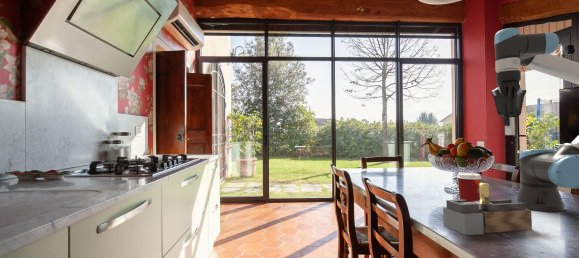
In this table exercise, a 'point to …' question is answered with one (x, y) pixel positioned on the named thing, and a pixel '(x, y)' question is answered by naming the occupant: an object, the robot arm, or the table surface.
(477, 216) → the bracket
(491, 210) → the door
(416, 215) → the table surface
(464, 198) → the coffee cup
